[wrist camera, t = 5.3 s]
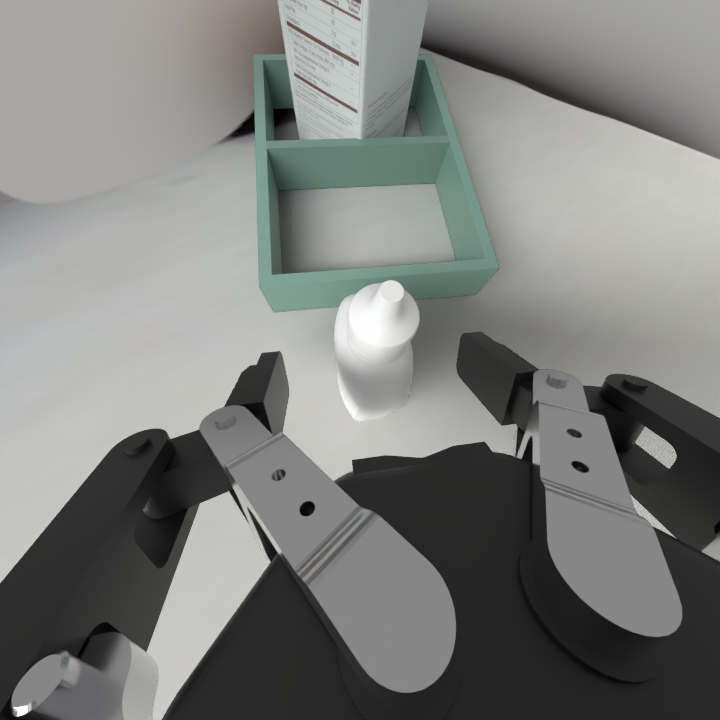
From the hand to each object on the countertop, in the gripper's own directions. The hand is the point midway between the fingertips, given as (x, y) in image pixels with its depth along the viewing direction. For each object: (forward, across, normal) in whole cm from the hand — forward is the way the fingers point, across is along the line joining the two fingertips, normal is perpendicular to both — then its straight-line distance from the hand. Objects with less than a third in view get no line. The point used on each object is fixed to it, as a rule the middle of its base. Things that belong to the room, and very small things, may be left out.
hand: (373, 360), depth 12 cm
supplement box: (+22, -2, -12) cm, 25 cm away
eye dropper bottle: (+6, 0, +5) cm, 7 cm away
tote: (+18, -2, -8) cm, 20 cm away
